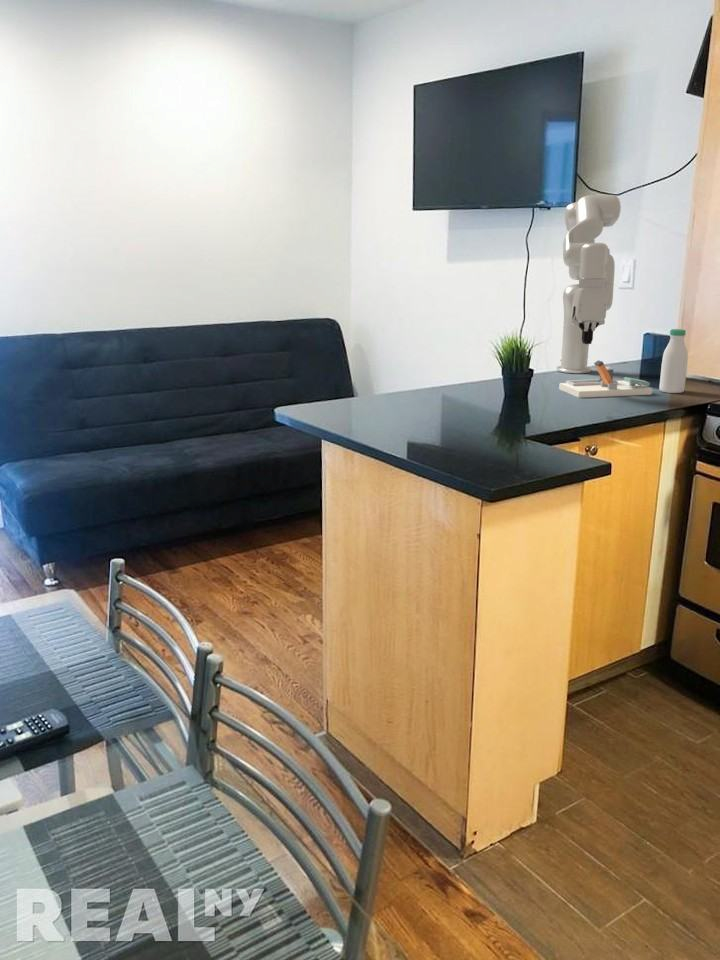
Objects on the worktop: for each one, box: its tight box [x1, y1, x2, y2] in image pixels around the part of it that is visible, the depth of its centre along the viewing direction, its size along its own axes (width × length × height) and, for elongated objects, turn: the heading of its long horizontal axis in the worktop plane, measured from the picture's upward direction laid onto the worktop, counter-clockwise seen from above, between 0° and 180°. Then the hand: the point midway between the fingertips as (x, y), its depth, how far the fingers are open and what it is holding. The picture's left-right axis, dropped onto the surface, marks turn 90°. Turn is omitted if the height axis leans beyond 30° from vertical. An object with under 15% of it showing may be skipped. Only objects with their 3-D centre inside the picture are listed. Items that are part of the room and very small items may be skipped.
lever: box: [593, 359, 613, 385], centre depth 260 cm, size 4×2×8 cm
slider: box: [599, 366, 614, 382], centre depth 269 cm, size 3×3×5 cm
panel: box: [558, 378, 653, 399], centre depth 265 cm, size 15×25×4 cm, turn 100°
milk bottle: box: [658, 328, 689, 394], centre depth 263 cm, size 8×8×20 cm
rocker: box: [623, 376, 651, 387], centre depth 262 cm, size 6×7×1 cm
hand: (586, 343), depth 260 cm, fingers closed
